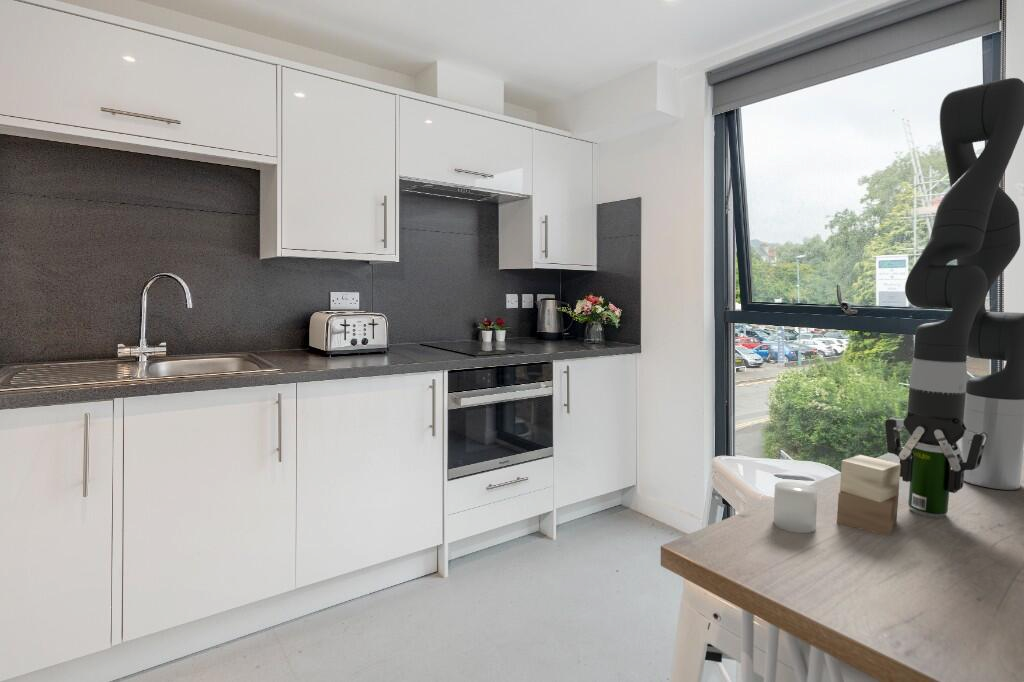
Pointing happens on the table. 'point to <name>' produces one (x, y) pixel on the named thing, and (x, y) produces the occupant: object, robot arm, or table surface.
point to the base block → (867, 513)
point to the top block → (870, 478)
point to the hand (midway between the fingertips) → (929, 485)
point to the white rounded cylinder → (795, 507)
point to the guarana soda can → (929, 481)
